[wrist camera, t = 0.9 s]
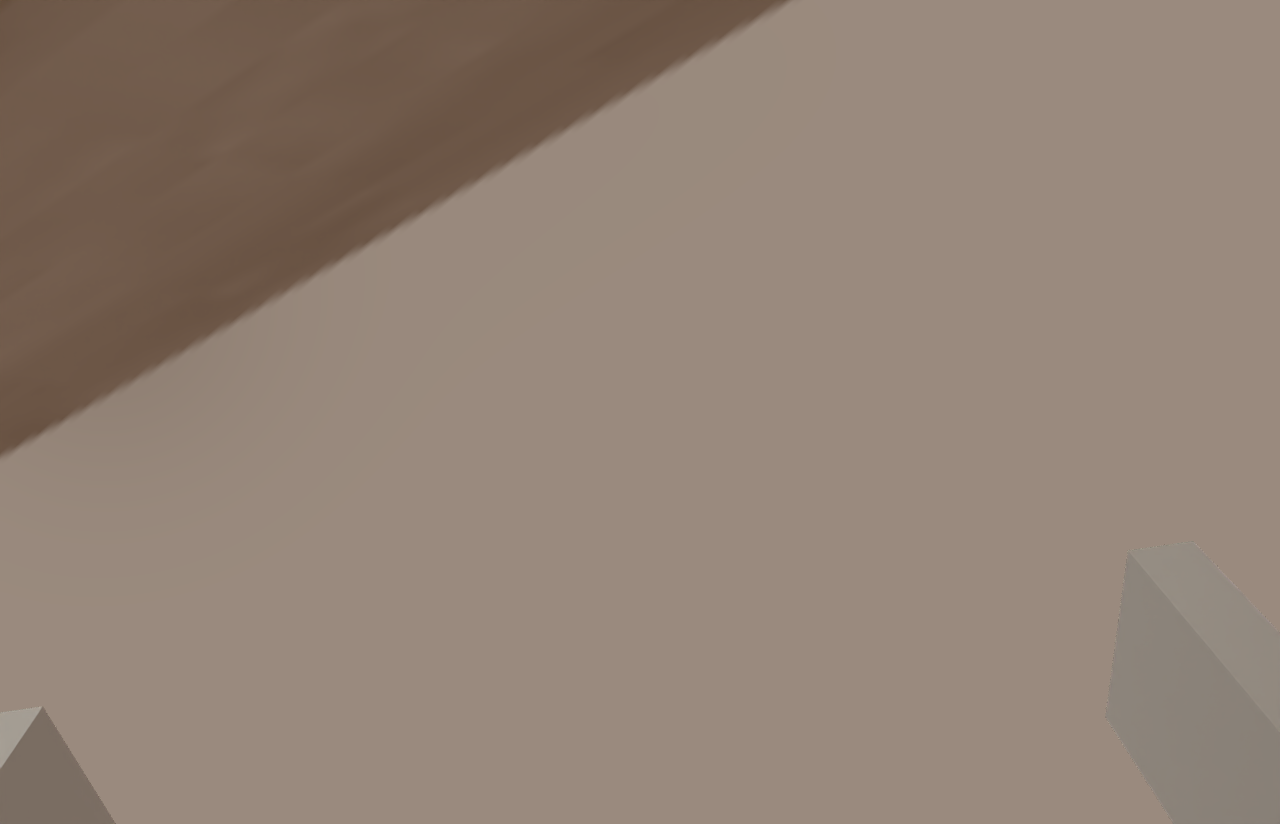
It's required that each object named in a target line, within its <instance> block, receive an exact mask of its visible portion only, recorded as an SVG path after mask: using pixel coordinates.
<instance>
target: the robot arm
mask: <svg viewBox="0 0 1280 824" xmlns="http://www.w3.org/2000/svg"><path fill="white" fill-rule="evenodd" d="M1106 719H1107V721H1108V722H1109V724H1110V725H1111V727H1112V728H1113V730H1114V732H1115V733H1116V735H1117V736H1118V738H1119V739H1120V741H1121V743H1122V744H1123V746H1124V747H1125V749H1126V750H1127V752H1128V754H1129V755H1130V757H1131V758H1132V760H1133V761H1134V763H1135V765H1136V766H1137V768H1138V769H1139V771H1140V772H1141V774H1142V775H1143V777H1144V779H1145V780H1146V782H1147V783H1148V785H1149V786H1150V788H1151V790H1152V791H1153V793H1154V794H1155V796H1156V797H1157V799H1158V801H1159V802H1160V804H1161V805H1162V807H1163V809H1164V810H1165V812H1166V813H1167V815H1168V816H1169V818H1170V819H1171V821H1172V823H1173V824H1280V632H1279V631H1278V630H1277V629H1276V628H1275V627H1274V626H1273V625H1272V624H1271V623H1270V622H1269V621H1268V619H1267V618H1266V617H1265V616H1264V615H1263V614H1262V613H1261V612H1260V611H1259V610H1258V609H1257V608H1256V607H1255V606H1254V605H1253V604H1252V603H1251V602H1250V601H1249V599H1248V598H1247V597H1246V596H1245V595H1244V594H1243V593H1242V592H1241V591H1240V590H1239V589H1238V588H1237V587H1236V586H1235V585H1234V584H1233V583H1232V582H1231V581H1230V579H1229V578H1228V577H1227V576H1226V575H1225V574H1224V573H1223V572H1222V571H1221V570H1220V569H1219V568H1218V567H1217V566H1216V565H1215V564H1214V563H1213V562H1212V561H1211V559H1210V558H1209V557H1208V556H1207V555H1206V554H1205V553H1204V552H1203V551H1202V550H1201V549H1200V548H1199V547H1198V546H1197V545H1196V544H1195V543H1194V542H1193V541H1191V542H1185V543H1178V544H1171V545H1165V546H1157V547H1150V548H1143V549H1136V550H1129V551H1128V555H1127V561H1126V568H1125V576H1124V583H1123V591H1122V599H1121V606H1120V613H1119V620H1118V628H1117V635H1116V643H1115V650H1114V657H1113V665H1112V673H1111V679H1110V687H1109V695H1108V702H1107V709H1106ZM0 824H116V823H115V822H114V820H113V819H112V817H111V815H110V814H109V812H108V811H107V809H106V807H105V806H104V804H103V803H102V801H101V799H100V798H99V796H98V795H97V793H96V791H95V790H94V788H93V786H92V785H91V783H90V782H89V780H88V778H87V777H86V775H85V774H84V772H83V770H82V769H81V767H80V766H79V764H78V762H77V761H76V759H75V758H74V756H73V754H72V753H71V751H70V750H69V748H68V746H67V745H66V743H65V741H64V740H63V738H62V737H61V735H60V734H59V732H58V730H57V729H56V727H55V725H54V724H53V722H52V721H51V719H50V717H49V716H48V714H47V713H46V711H45V709H44V708H43V707H36V708H29V709H22V710H15V711H8V712H2V713H0Z"/></svg>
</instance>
